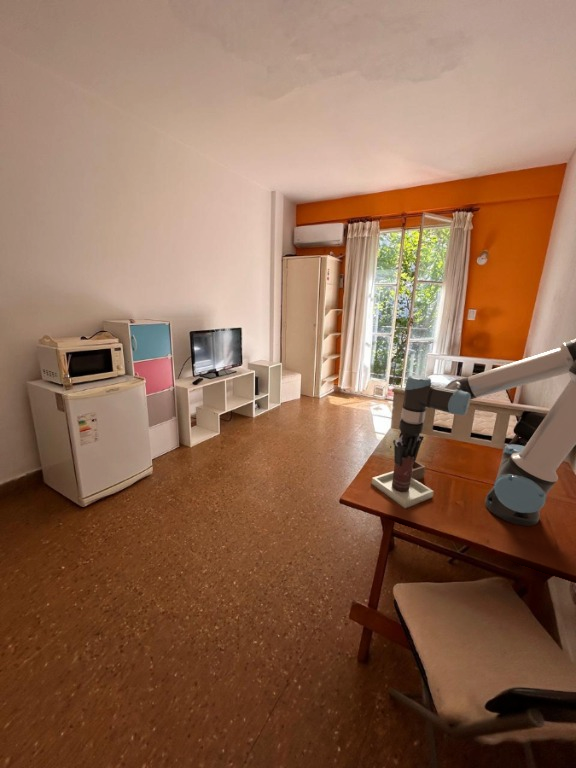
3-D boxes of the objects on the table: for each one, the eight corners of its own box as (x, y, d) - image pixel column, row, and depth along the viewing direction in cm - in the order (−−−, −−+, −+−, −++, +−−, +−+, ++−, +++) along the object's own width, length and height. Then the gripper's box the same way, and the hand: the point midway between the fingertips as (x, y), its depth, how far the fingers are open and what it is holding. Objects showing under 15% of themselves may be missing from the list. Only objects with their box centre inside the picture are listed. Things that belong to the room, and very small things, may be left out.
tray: (432, 497, 113) (433, 491, 113) (405, 508, 107) (406, 501, 106) (397, 475, 127) (398, 469, 126) (371, 483, 120) (372, 477, 119)
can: (406, 483, 120) (411, 450, 116) (410, 493, 114) (416, 458, 110) (390, 481, 121) (394, 448, 117) (393, 491, 115) (398, 457, 111)
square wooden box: (423, 477, 125) (425, 466, 124) (409, 482, 122) (411, 471, 120) (407, 468, 132) (409, 457, 131) (393, 472, 128) (395, 461, 127)
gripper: (416, 413, 116) (406, 470, 122) (389, 419, 109) (380, 479, 116) (434, 420, 109) (423, 480, 116) (406, 427, 103) (396, 490, 109)
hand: (401, 479), depth 116 cm, fingers closed
